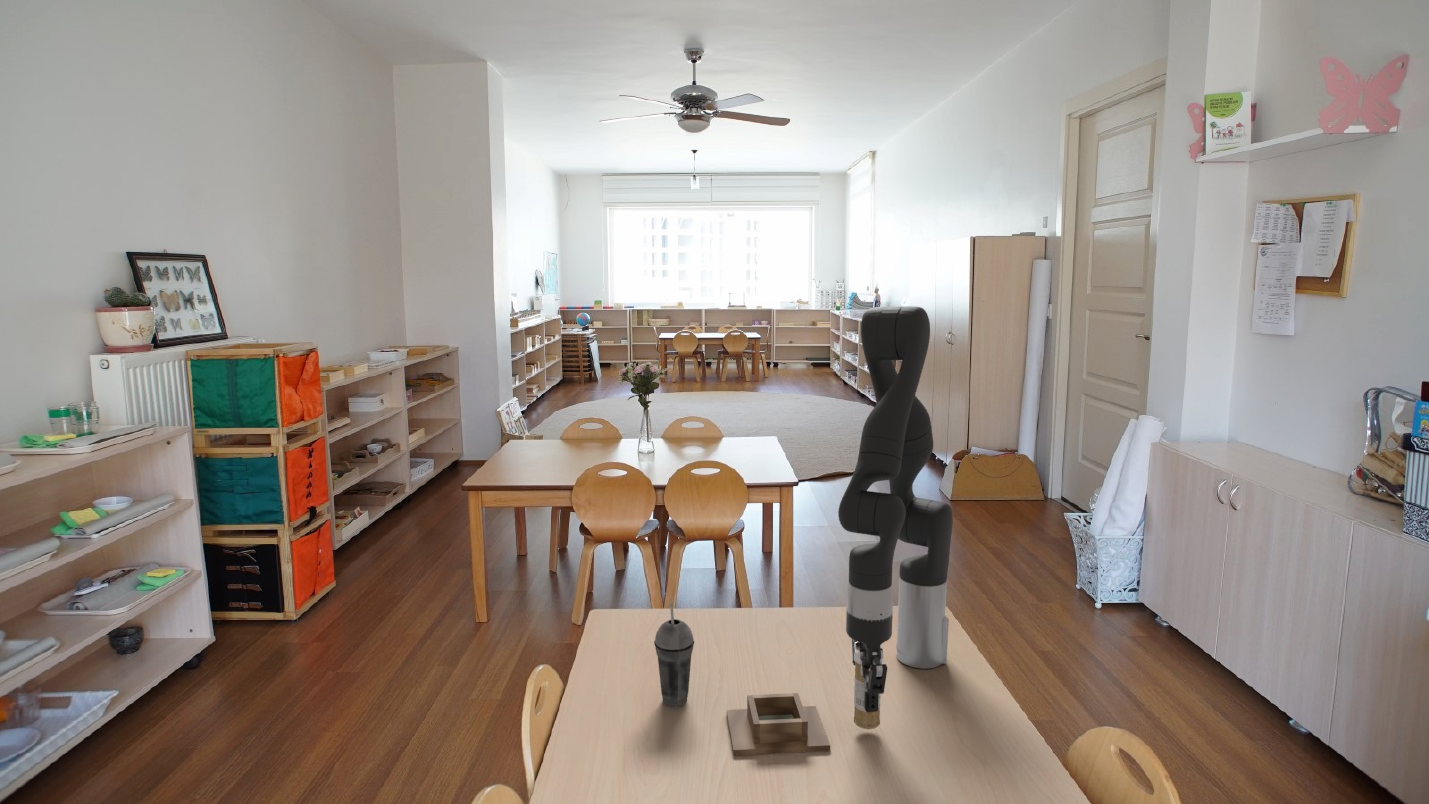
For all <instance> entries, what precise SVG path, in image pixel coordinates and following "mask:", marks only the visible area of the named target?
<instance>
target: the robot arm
mask: <svg viewBox="0 0 1429 804" xmlns="http://www.w3.org/2000/svg"><path fill="white" fill-rule="evenodd" d="M860 338H861V345H862V350H863V354H864V357H865V362H866V365H867V369H868V374H869V376H870V380H871V384H872V388H873V393H874V397H875V402H876V405H874V408H873V409H872V410H871V411H870V413H869V414H868V416H867V417H866V420H865V422H864V425H863V428H862V432H861V438H860V443H859V450H858V451H859V452H858V457H857V462H856V466H855V469H854V471H853V474H852V476H851V478H850V481H849V483H848V485H847V487H846V490H845V491H844V493H843V496H842V497H841V501H840V503H839V507H838V511H837V512H838V520H839V523H840V525H841V527H842V528H843V529H844V531H847V532H849V533H852V534H853V533H854V534H855V533H856V534H861V535H869V536H874V537H879V542H875V543H865V544H860V545H857V546H854V547H852V549H851V550H850V552H849V557H848V585H847V592H846V612H845V613H846V617H845V618H846V622H845V623H846V624H845V625H846V626H845V631H846V634H847V636H848V637H849V638H850V639H851V651H852V660H851V661H852V665H853V666H855V659H854V654H855V648H856V649H857V648H860V649H858V654H859V659H860V660H861V665H860V669H861V676H862V677H864V690H865V696H864V709H865V711H866V712H876V711H878V701H879V694H880V695H882V694H883V695H884V693H885V687H886V686H885V685H886V680H887V673H888V666H887V664H886V663H883V659H884V650H883V647H881V645H882V644H884V643H885V642H887V641H889V640H890V639H891V638H892V635H893V614H894V612H893V607H894V596H893V595H894V594H893V583H892V582H893V563H894V556H895V551H896V546H897V543H898V540H899V541H901V542H904V543H906V544H910V545H911V544H912V545H915V546H920V547H925V548H927V553H926V554H922V555H915V556H911V557H907V558H905V559H903V560H902V561H901V562H900V565H899V573H898V575H899V577H898V580H899V581H898V597H897V598H898V600H897V601H898V604H897V605H898V606H897V625H896V626H897V629H896V630H897V631H896V632H897V633H896V654H895V655H896V659H898V661H899V662H901V663H902V664H904V665H906V666H908V667H910V668H915V669H923V670H925V669H935V668H938V667H940V666H941V665H946V664H947V663H948V648H949V647H948V645H949V627H950V626H949V625H950V624H949V623H950V621H949V618H948V617H947V615H946V612H947V611H946V607H947V606H946V605H947V604H946V603H947V587H948V586H947V585H948V584H947V583H948V582H947V581H948V571H949V564H950V555H951V554H950V552H951V541H952V532H953V521H954V519H953V518H954V517H953V516H954V515H953V510H952V508H951V507H952V506H950V504H948V503H947V502H944V501H941V500H940V501H939V500H933V499H927V498H921V497H917V496H915V495H914V491H913V490H914V489H913V485H914V484H913V483H914V482H915V480H916V478H917V477H918V475H919V473H920V472H921V471H922V470H923V468H924V467H925V466H926V464H927V463H928V461H929V459H930V458H931V456H932V453H933V450H934V437H933V431H932V430H933V429H932V422H931V417H930V414H929V412H928V410H927V408H926V407H925V405H924V404H923V403H922V402H921V400H919V398H918V397H917V396H916V393H917V390H918V387H919V383H920V380H921V376H922V373H923V368H924V365H925V361H926V358H927V354H928V351H929V346H930V340H931V339H930V338H931V323H930V318H929V315H928V312H927V311H926V310H925V309H924V307H920V306H912V305H911V306H907V305H906V306H903V305H902V306H876V307H870V308H867V310H865V311H864V313H863V314H862V317H861V322H860ZM893 361H901V364H900V368H899V371H898V372H897V370H896V367H895V365H894V364H895V363H894V362H893ZM881 481H882V482H883V481H889V493H887V492H886V493H885V492H879V491H870V490H868V489H869V488H870V487H872V485H873V484H874V483H876V482H881ZM865 668H866V669H869V671H870V672H866V671H865Z"/></svg>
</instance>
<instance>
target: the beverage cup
mask: <svg viewBox="0 0 1429 804" xmlns="http://www.w3.org/2000/svg"><path fill="white" fill-rule="evenodd" d="M673 602H674V601H673V600H672V599H670V600H669V607H670V609H669V610H670V619H669V620H666V621H665V622H663V623H661V625H660V626H659V628H658V630H657V631H656V634H655V636H654V644H653V645H654V646H655V647H654V648H655V653H656V656H657V661H658V663H657V664H658V672H659V673H658V674H659V682H660V692H661V697H662V704H663V705H665V706H666V707H668V708H680V707H684V706H685V705H686V704H687V703H688V695H689V688H690V686H689V685H690V675H691V666H692V665H691V662H692V655H693V650H694V644H695V640H694V635H693V631H692V629H691V628H690V626H689V625H688V624H687V623H686V622H685V621H682V620H680V619H676V618H675V617H674V616H675V615H674V603H673Z"/></svg>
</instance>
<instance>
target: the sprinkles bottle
mask: <svg viewBox="0 0 1429 804" xmlns="http://www.w3.org/2000/svg"><path fill="white" fill-rule="evenodd" d="M858 649H860V648H857V649H856V648H855V654H854V659H855V665H854V666H855V667H854V668H855V669H854V688H853V689H854V693H853V694H854V697H853V698H854V699H853V700H854V701H853V704H854V716H853V723H854V724H855V725H856V726H857V727H858V728H861V729H864V730H865V729H866V730H873V729H876V728H878V727H879V726H880V725H881V717H880V715H881V714H880V713H881V711H880V709H881V708H880V707H881V694H879V701H878V711H876V712H866V711H865V709H864V696H865V690H864V677H862V676H861V669H860V665H861V660H860V659H859V654H858ZM865 671H866V672H870V671H869V669H866V668H865Z"/></svg>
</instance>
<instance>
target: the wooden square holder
mask: <svg viewBox="0 0 1429 804" xmlns="http://www.w3.org/2000/svg"><path fill="white" fill-rule="evenodd" d="M746 698H747V699H746V708H743V709H742V708H739V709H737V708H736V709H726V719H727V724H728V730H729V736H730V743H731V747H732V748H731V749H732V755H733V757H735V756H737V757H738V756H751V755H753V756H755V755H771V754H772V755H774V754H775V755H776V754H793V753H811V752H812V753H815V752H830V751H831V743H830V741H829V738H828V735H827V732H826V730H825V727H824V725H823V721H822V718H821V717H820V714H819V711H818V709H817V706H816V705H807V706H806V705H805V706H803V702H802V700H801V698H800V694H799V693H798V692H795V693H794V692H792V693H789V692H788V693H770V694H769V693H767V694H766V693H765V694H747V697H746Z"/></svg>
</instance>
